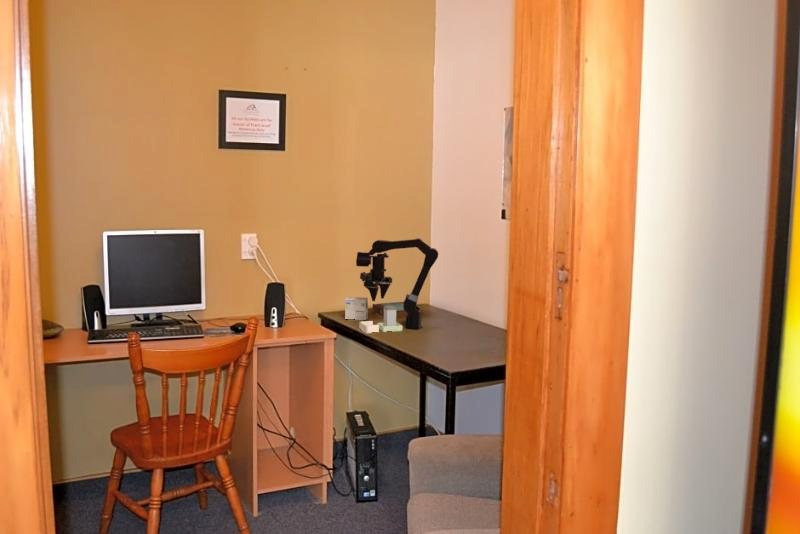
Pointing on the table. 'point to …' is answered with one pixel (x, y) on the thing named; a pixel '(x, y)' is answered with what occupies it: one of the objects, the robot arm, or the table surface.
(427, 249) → the robot arm
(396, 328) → the tray
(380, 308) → the book
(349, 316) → the light bulb box
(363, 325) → the bay
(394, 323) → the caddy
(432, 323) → the table surface
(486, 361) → the table surface
